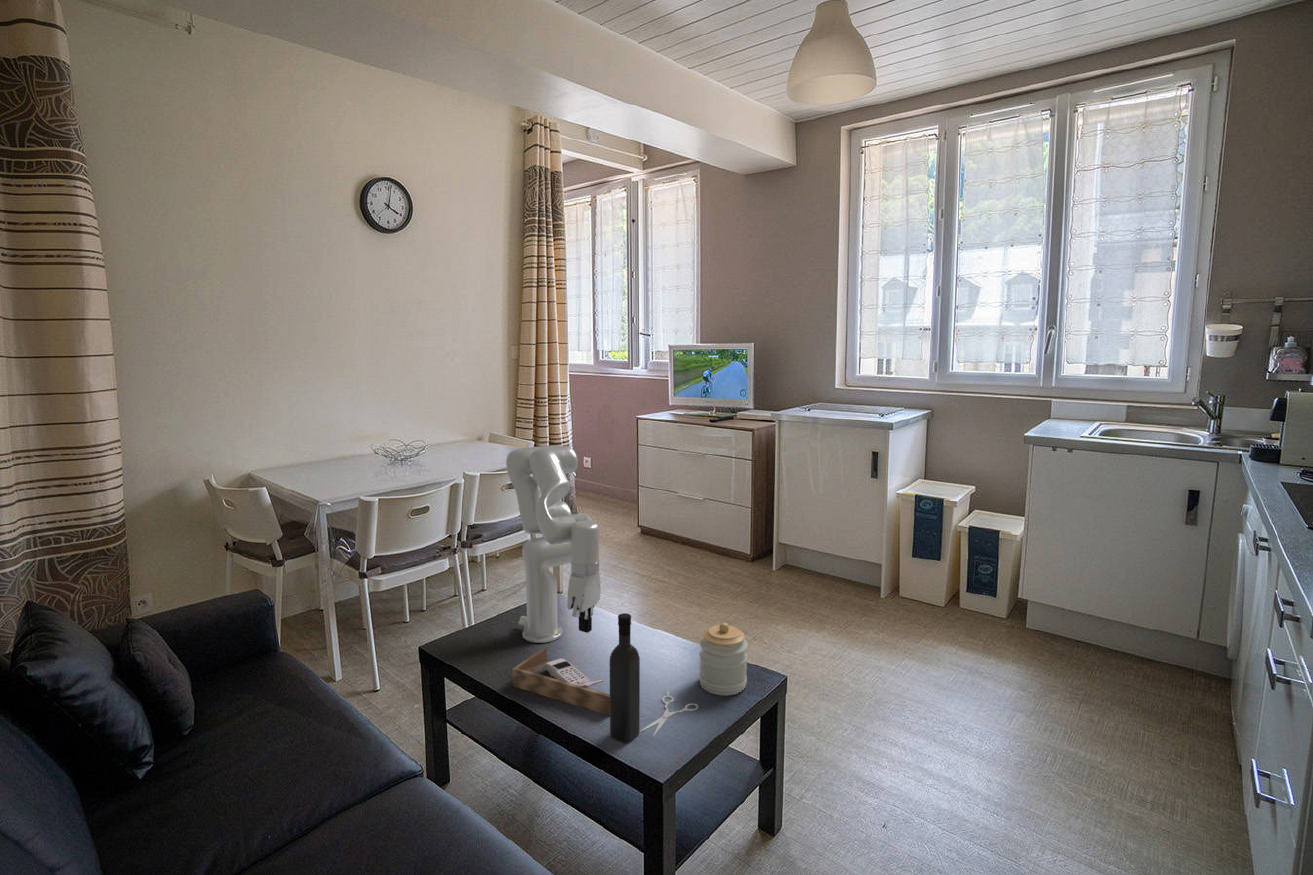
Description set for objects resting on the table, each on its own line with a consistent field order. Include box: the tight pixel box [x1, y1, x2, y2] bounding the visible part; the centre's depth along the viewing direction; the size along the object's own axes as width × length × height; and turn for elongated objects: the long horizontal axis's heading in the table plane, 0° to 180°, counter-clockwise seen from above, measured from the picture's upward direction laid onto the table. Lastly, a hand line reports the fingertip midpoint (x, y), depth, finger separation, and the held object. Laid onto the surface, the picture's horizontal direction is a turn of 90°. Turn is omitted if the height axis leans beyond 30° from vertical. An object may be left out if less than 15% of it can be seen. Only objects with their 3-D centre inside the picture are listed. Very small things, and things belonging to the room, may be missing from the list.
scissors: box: [639, 691, 699, 737], centre depth 168 cm, size 11×1×20 cm
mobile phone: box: [545, 657, 606, 688], centre depth 183 cm, size 6×6×25 cm
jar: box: [698, 622, 749, 696], centre depth 182 cm, size 13×13×18 cm
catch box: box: [511, 647, 610, 716], centre depth 181 cm, size 31×14×5 cm, turn 63°
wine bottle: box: [609, 613, 641, 744], centre depth 158 cm, size 6×6×30 cm
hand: (585, 630), depth 184 cm, fingers closed
